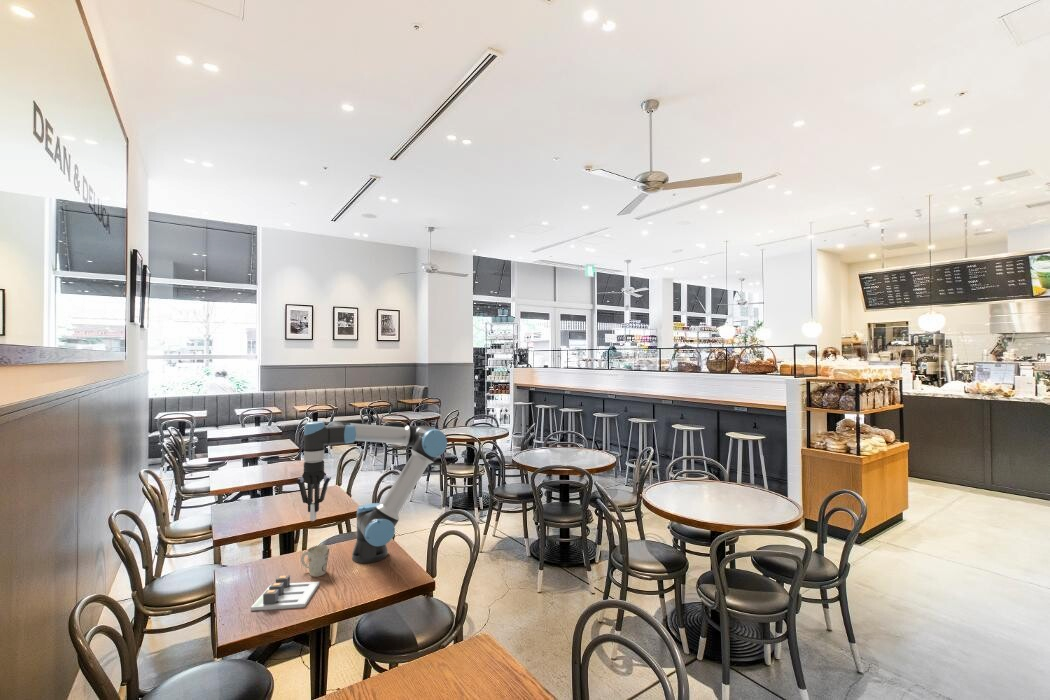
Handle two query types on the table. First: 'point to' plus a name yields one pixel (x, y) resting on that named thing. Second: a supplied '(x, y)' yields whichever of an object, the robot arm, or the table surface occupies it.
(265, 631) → the table surface
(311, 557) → the mug
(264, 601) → the block
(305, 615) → the table surface
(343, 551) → the table surface
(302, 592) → the panel
